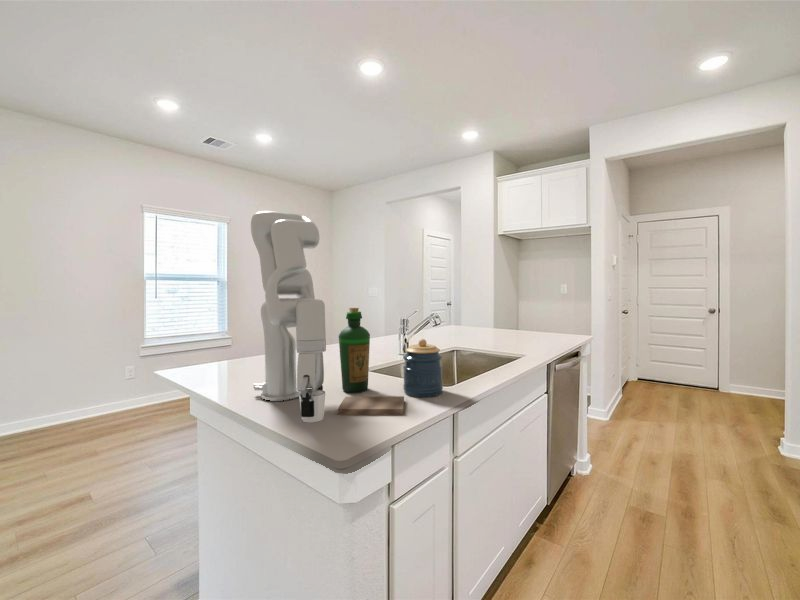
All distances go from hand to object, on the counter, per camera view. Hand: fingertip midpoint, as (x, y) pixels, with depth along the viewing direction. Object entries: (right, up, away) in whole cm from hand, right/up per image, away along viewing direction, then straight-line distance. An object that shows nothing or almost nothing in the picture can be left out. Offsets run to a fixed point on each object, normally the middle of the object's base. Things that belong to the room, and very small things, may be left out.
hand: (312, 410), depth 99 cm
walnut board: (+15, -2, +9) cm, 18 cm away
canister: (+31, -1, +24) cm, 39 cm away
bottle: (+8, -1, +28) cm, 29 cm away
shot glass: (0, -2, 0) cm, 2 cm away
